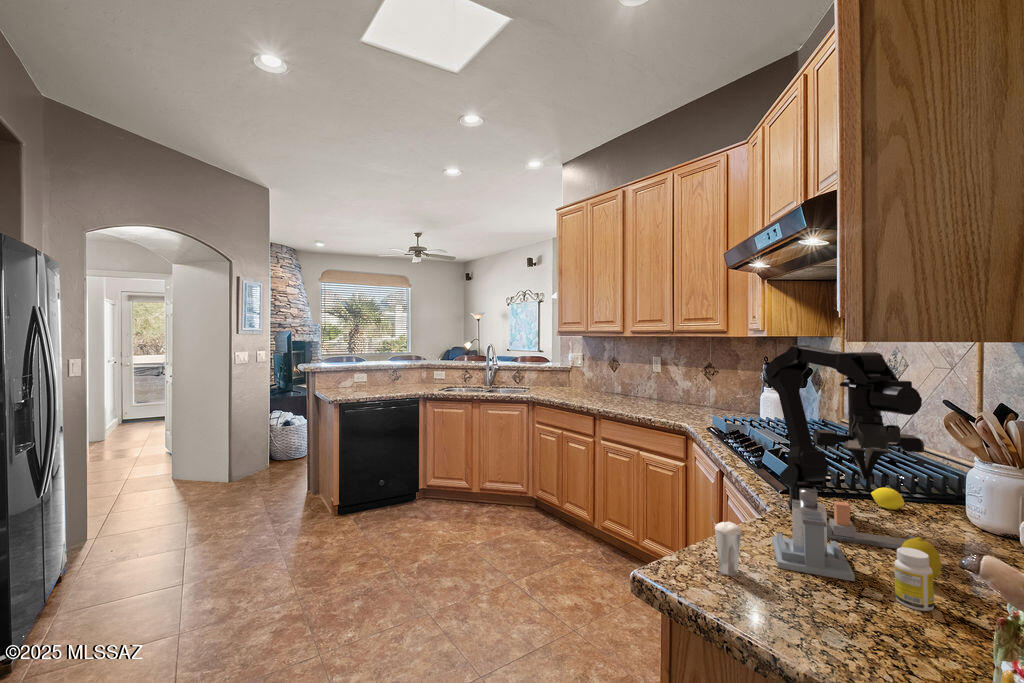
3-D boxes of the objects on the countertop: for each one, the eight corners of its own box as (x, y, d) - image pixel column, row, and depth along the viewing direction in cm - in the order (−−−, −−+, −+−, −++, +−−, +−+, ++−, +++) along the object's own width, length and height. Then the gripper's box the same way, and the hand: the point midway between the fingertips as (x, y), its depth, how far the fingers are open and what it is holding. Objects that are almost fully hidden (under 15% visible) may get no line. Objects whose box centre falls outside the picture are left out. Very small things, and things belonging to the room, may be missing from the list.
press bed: (772, 541, 98) (771, 495, 98) (838, 551, 93) (838, 503, 93) (778, 568, 86) (777, 516, 86) (855, 582, 81) (854, 526, 81)
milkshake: (716, 562, 89) (715, 511, 89) (745, 571, 85) (744, 518, 85) (707, 570, 86) (706, 517, 86) (736, 580, 82) (735, 525, 82)
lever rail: (823, 532, 103) (823, 523, 103) (913, 544, 96) (913, 535, 96) (826, 538, 99) (826, 529, 99) (920, 552, 92) (920, 542, 92)
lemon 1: (906, 511, 117) (909, 491, 116) (898, 516, 114) (901, 495, 113) (874, 500, 122) (877, 481, 122) (865, 504, 120) (868, 484, 119)
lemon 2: (893, 578, 82) (892, 534, 83) (910, 572, 85) (909, 529, 85) (931, 593, 77) (930, 546, 77) (948, 586, 80) (947, 540, 80)
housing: (792, 545, 94) (791, 484, 94) (825, 551, 91) (823, 488, 91) (793, 555, 89) (792, 492, 89) (827, 562, 86) (826, 496, 86)
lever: (829, 527, 103) (828, 499, 103) (850, 530, 101) (850, 501, 101) (833, 534, 99) (833, 505, 99) (856, 537, 97) (855, 507, 97)
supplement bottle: (918, 596, 76) (917, 546, 77) (942, 612, 72) (940, 559, 72) (887, 595, 77) (886, 545, 77) (909, 611, 72) (908, 558, 72)
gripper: (820, 411, 97) (822, 484, 96) (934, 416, 89) (936, 495, 88) (811, 405, 107) (813, 471, 107) (913, 409, 99) (914, 480, 98)
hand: (865, 479), depth 100 cm, fingers closed
